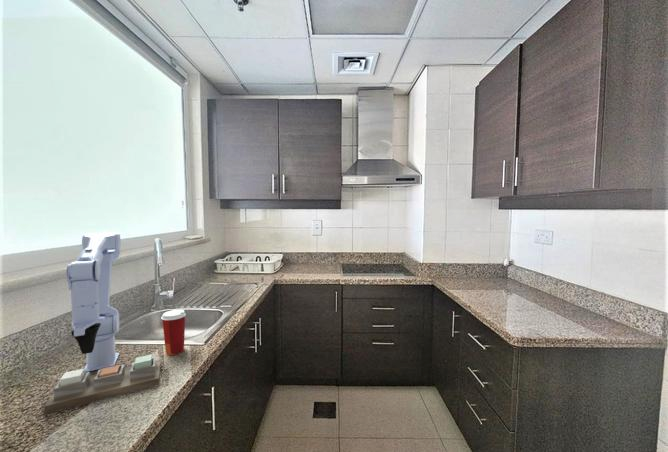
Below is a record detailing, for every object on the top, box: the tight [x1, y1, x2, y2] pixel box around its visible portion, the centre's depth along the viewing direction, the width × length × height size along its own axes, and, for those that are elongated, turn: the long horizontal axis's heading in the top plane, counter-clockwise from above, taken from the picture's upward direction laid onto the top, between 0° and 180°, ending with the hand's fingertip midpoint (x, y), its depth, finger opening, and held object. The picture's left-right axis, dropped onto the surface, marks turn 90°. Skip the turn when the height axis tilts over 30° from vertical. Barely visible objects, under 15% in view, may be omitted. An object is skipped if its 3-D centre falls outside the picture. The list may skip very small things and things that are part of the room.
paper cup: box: [160, 309, 187, 356], centre depth 102 cm, size 8×8×14 cm
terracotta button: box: [99, 364, 121, 378], centre depth 82 cm, size 4×4×2 cm
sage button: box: [134, 354, 153, 370], centre depth 86 cm, size 4×4×2 cm
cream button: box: [59, 368, 85, 386], centre depth 78 cm, size 4×4×2 cm
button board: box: [43, 357, 162, 415], centre depth 82 cm, size 12×24×4 cm, turn 119°
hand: (87, 352), depth 81 cm, fingers closed
